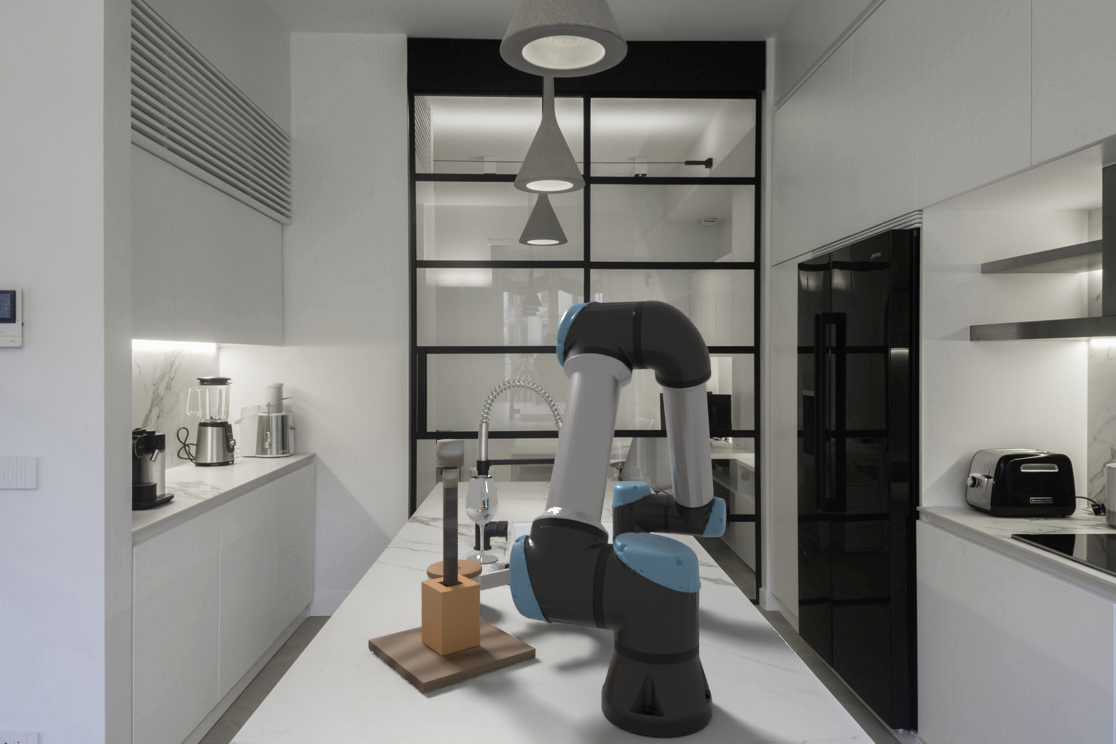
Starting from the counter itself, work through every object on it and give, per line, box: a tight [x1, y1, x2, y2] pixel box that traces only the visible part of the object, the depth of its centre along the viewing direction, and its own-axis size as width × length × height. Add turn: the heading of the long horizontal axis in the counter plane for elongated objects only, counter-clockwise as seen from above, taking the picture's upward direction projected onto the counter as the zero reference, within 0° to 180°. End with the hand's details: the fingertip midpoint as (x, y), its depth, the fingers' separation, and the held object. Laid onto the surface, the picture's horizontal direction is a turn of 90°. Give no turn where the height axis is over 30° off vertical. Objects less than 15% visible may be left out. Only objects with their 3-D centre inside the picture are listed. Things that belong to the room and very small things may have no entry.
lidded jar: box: [426, 559, 483, 583], centre depth 138 cm, size 11×11×9 cm
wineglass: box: [465, 474, 499, 565], centre depth 171 cm, size 8×8×20 cm
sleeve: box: [421, 574, 481, 656], centre depth 116 cm, size 7×7×10 cm
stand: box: [367, 438, 537, 694], centre depth 116 cm, size 20×20×35 cm
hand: (500, 592), depth 122 cm, fingers open, 13 cm apart
